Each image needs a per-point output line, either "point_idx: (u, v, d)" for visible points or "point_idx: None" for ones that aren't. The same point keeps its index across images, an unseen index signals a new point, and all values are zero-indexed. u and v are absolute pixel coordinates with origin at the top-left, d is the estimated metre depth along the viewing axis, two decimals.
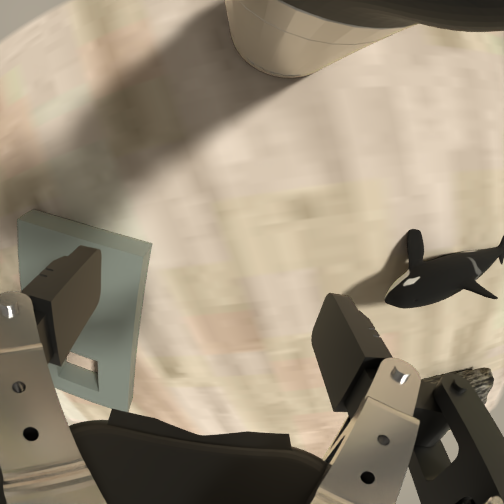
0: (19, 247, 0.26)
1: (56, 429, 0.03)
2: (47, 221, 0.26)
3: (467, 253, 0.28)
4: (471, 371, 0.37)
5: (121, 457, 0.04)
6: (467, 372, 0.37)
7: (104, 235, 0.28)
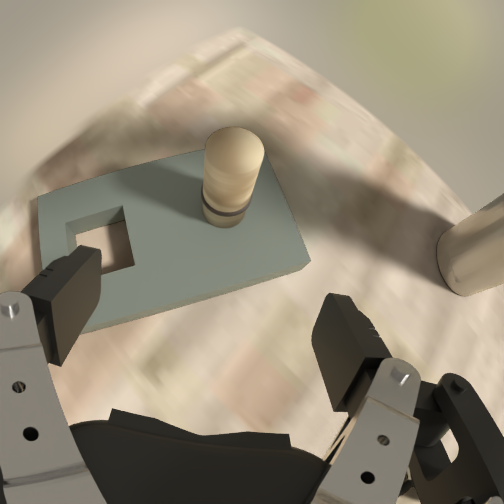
0: None
1: (56, 430, 0.03)
2: None
3: None
4: None
5: (121, 457, 0.04)
6: None
7: None
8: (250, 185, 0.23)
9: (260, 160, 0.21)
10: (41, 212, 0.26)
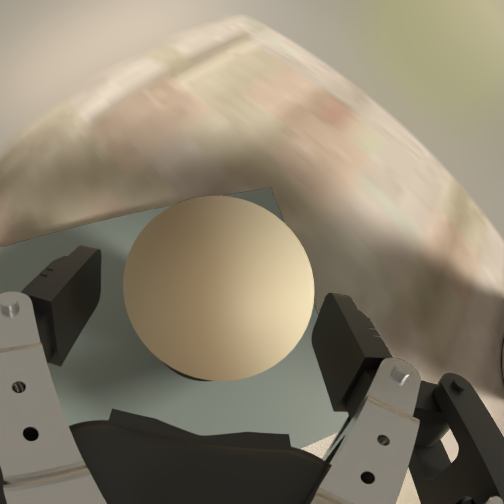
0: None
1: (57, 429, 0.03)
2: None
3: None
4: None
5: (121, 457, 0.04)
6: None
7: None
8: None
9: (303, 324, 0.06)
10: None
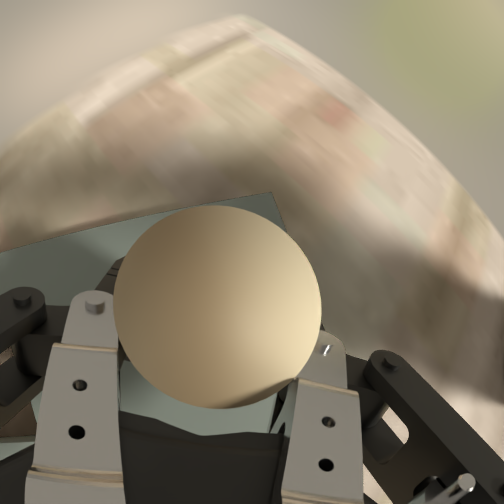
0: (219, 204, 0.17)
1: (105, 435, 0.03)
2: None
3: None
4: None
5: (121, 457, 0.04)
6: None
7: None
8: None
9: (309, 346, 0.06)
10: None
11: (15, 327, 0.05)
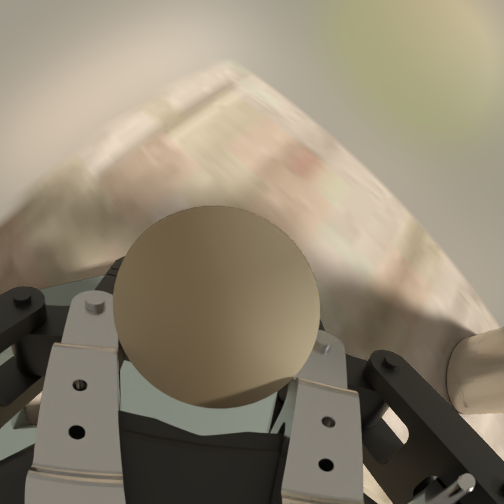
0: None
1: (105, 435, 0.03)
2: None
3: None
4: None
5: (121, 457, 0.04)
6: None
7: None
8: None
9: (308, 346, 0.06)
10: None
11: (15, 327, 0.05)
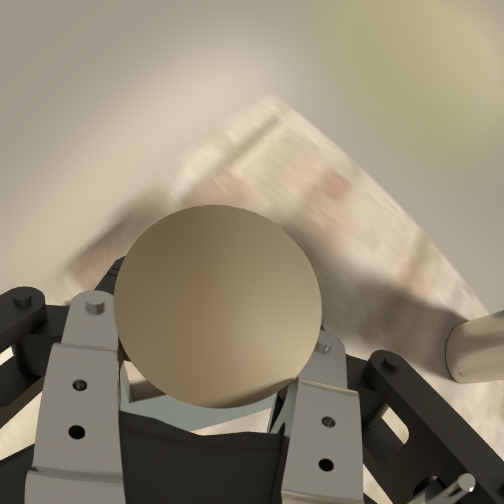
0: None
1: (105, 435, 0.03)
2: None
3: None
4: None
5: (121, 457, 0.04)
6: None
7: None
8: None
9: (310, 345, 0.06)
10: None
11: (15, 327, 0.05)
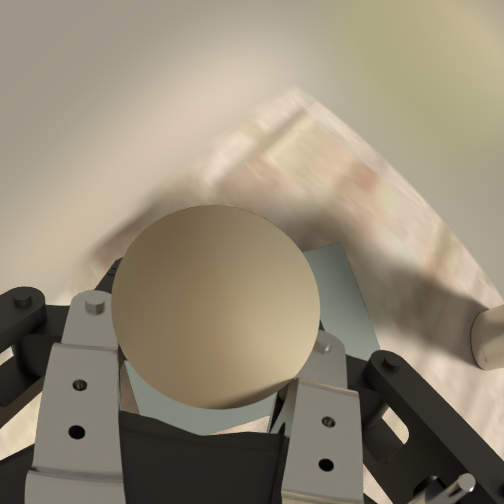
0: (317, 250, 0.33)
1: (105, 435, 0.03)
2: None
3: None
4: None
5: (121, 457, 0.04)
6: None
7: None
8: None
9: (308, 346, 0.06)
10: None
11: (15, 327, 0.05)
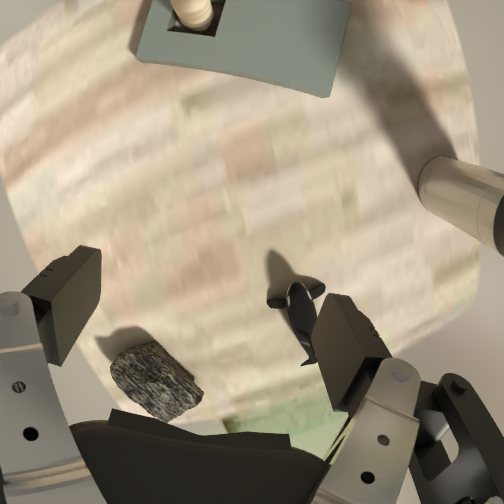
0: None
1: (56, 429, 0.03)
2: None
3: None
4: (191, 379, 0.52)
5: (121, 457, 0.04)
6: (188, 376, 0.52)
7: None
8: (195, 17, 0.27)
9: (198, 7, 0.25)
10: None
11: None
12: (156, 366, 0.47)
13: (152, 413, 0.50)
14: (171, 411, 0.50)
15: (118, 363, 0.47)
